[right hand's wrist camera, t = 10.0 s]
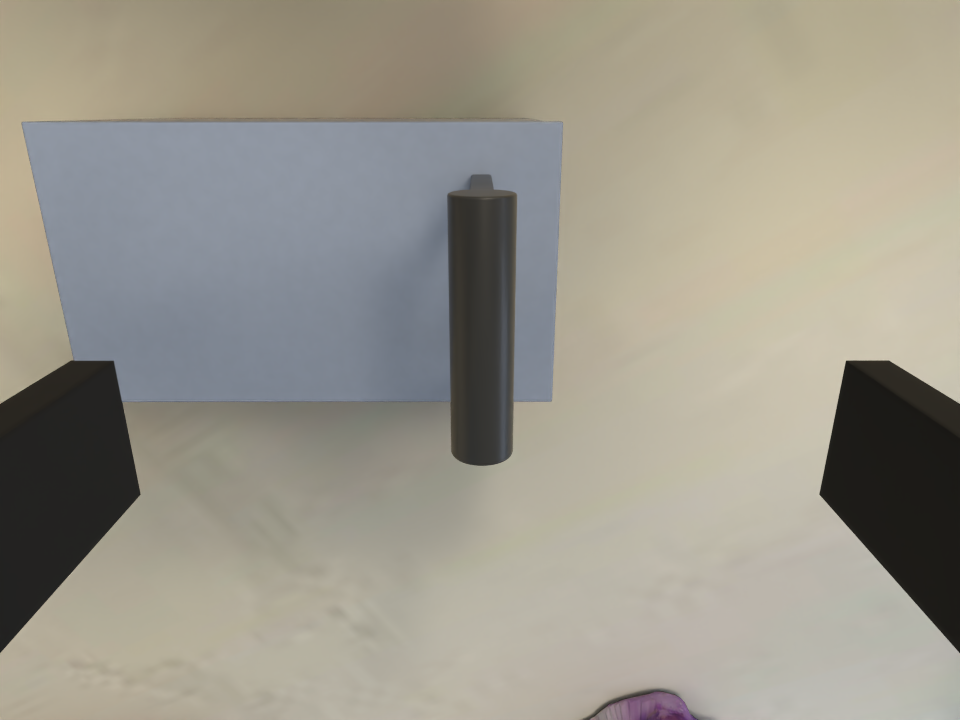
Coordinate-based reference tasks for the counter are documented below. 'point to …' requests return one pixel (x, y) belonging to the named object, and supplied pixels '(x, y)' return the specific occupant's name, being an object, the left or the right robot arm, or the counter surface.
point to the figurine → (647, 708)
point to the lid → (311, 261)
